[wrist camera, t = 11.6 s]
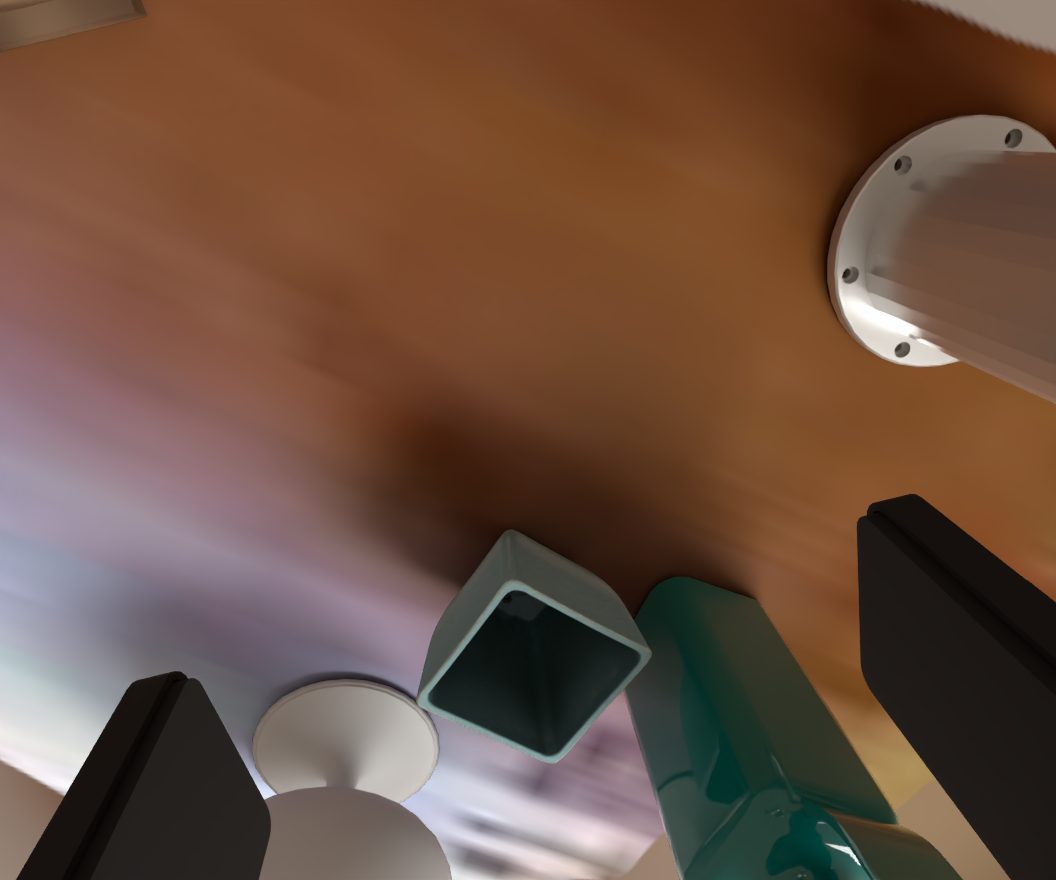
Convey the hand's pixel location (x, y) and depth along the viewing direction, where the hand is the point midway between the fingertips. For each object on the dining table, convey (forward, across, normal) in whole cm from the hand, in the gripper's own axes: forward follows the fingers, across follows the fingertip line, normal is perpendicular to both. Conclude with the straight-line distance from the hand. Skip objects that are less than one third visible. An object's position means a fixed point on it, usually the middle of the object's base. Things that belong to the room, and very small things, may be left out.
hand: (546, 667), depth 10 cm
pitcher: (+28, -8, +25) cm, 39 cm away
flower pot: (+29, +2, +18) cm, 34 cm away
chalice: (+28, +16, +28) cm, 43 cm away
